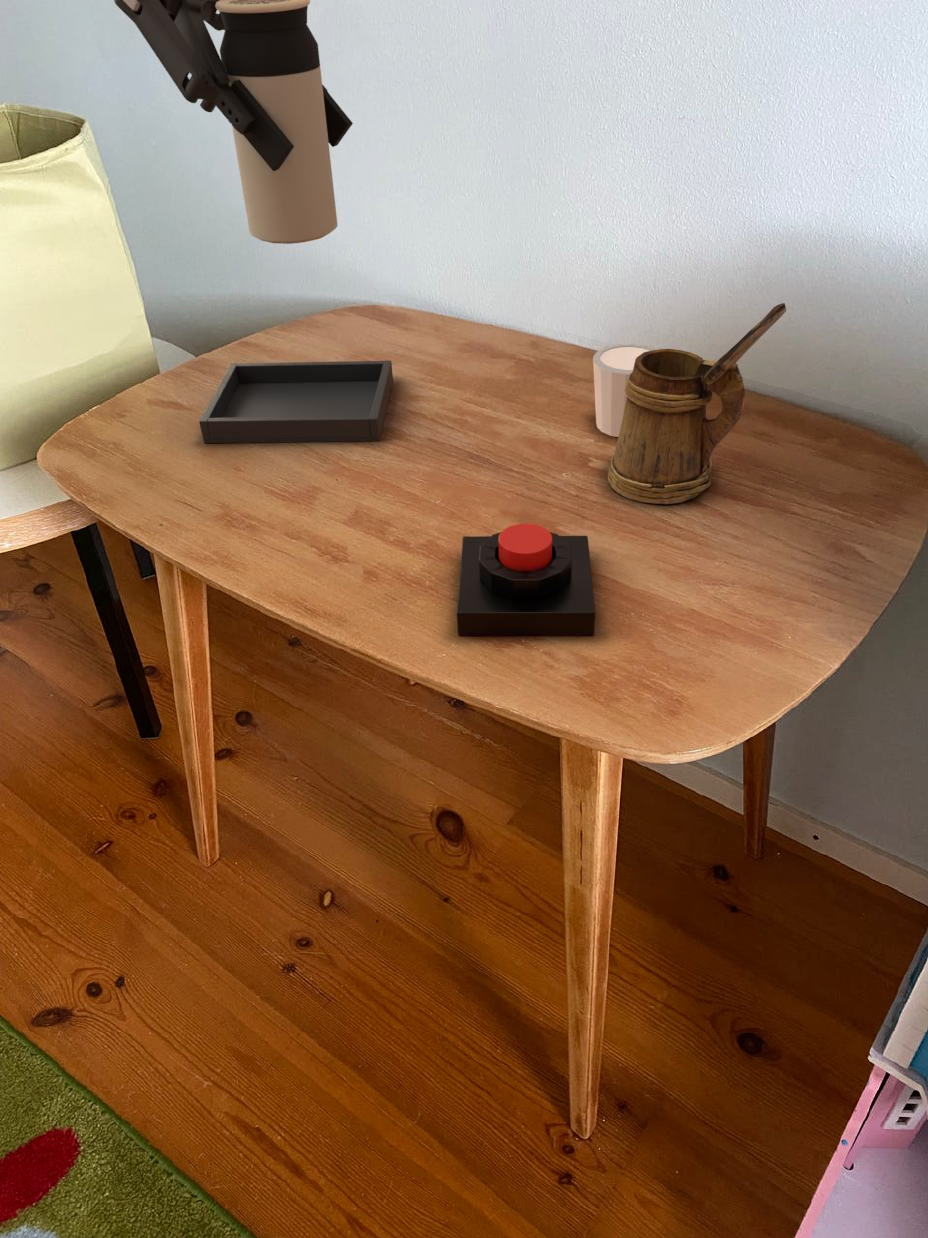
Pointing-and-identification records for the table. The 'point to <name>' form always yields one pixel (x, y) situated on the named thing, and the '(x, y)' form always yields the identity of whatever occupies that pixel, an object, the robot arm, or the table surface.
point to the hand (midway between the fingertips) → (314, 146)
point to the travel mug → (281, 118)
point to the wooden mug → (677, 420)
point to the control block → (525, 591)
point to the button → (525, 547)
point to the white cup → (613, 384)
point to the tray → (299, 402)
